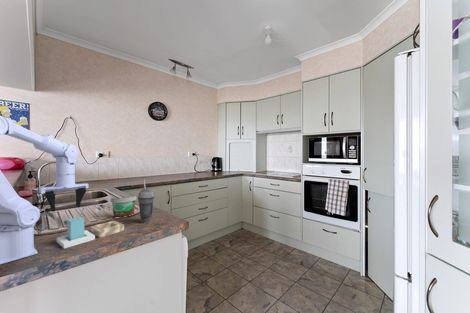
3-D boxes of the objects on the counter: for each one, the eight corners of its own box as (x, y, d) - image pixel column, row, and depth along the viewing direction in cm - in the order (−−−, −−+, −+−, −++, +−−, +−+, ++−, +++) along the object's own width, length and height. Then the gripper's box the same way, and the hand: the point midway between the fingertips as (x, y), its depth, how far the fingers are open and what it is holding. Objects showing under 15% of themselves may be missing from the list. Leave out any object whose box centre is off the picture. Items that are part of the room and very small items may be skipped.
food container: (106, 219, 97) (106, 199, 97) (111, 216, 103) (110, 196, 102) (134, 217, 100) (134, 197, 100) (137, 214, 106) (136, 195, 106)
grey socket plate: (64, 248, 67) (64, 244, 67) (56, 241, 72) (56, 237, 72) (94, 239, 74) (94, 235, 74) (86, 233, 79) (86, 230, 79)
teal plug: (70, 244, 70) (70, 221, 70) (67, 241, 73) (67, 219, 73) (84, 240, 74) (84, 218, 73) (80, 237, 76) (80, 216, 76)
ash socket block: (99, 237, 75) (99, 231, 75) (90, 232, 81) (90, 226, 81) (124, 230, 83) (124, 224, 83) (114, 226, 88) (114, 220, 88)
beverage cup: (146, 225, 89) (145, 180, 89) (134, 223, 92) (133, 180, 92) (157, 220, 96) (157, 178, 96) (146, 218, 98) (146, 178, 98)
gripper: (43, 176, 70) (43, 215, 70) (91, 173, 82) (91, 206, 82) (38, 175, 74) (38, 211, 74) (84, 172, 86) (85, 203, 86)
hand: (66, 208), depth 78 cm, fingers open, 7 cm apart
